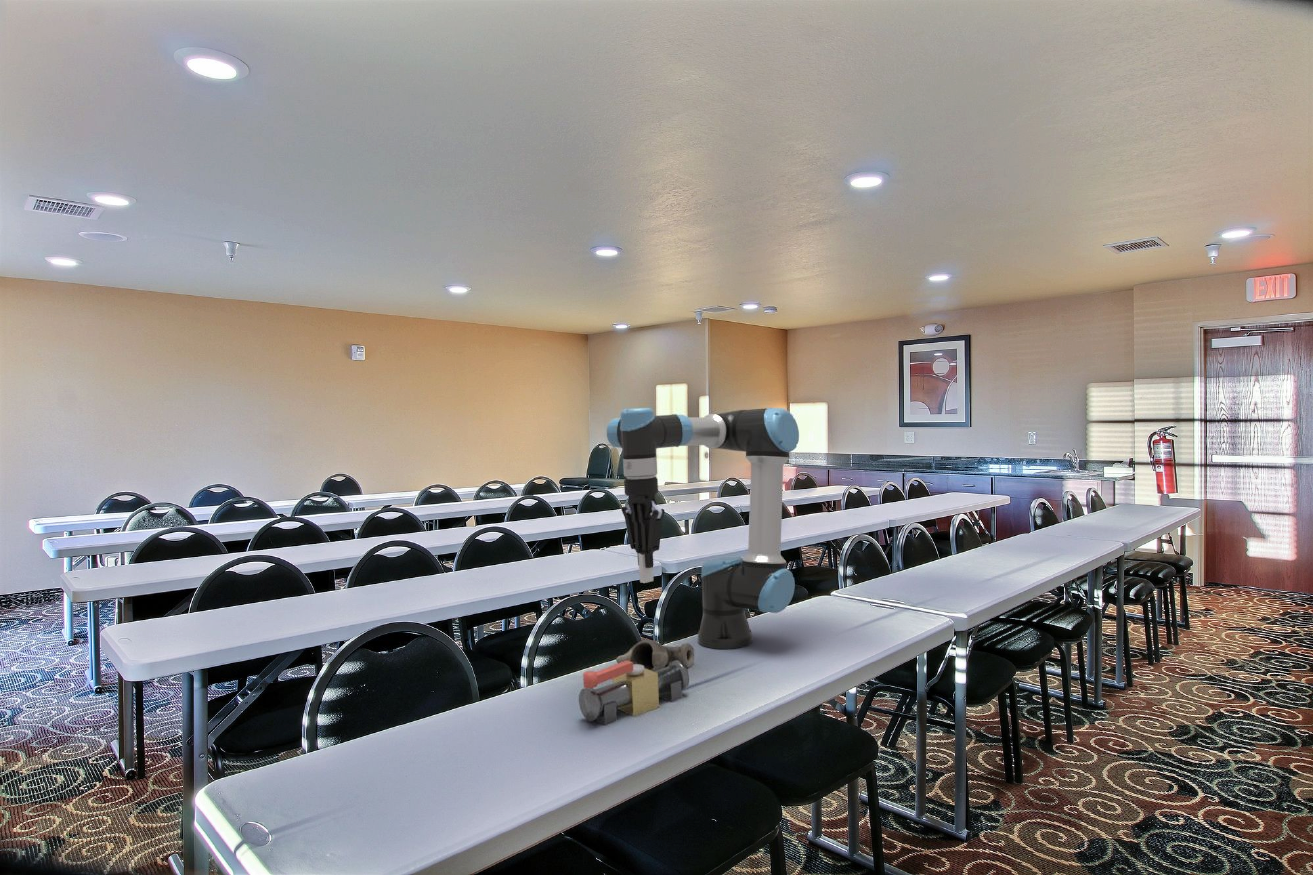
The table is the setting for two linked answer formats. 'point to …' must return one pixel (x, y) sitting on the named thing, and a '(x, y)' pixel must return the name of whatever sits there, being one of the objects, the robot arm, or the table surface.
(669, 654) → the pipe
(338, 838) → the table surface
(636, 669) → the lever
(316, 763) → the table surface
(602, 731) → the table surface
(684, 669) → the valve pipe
